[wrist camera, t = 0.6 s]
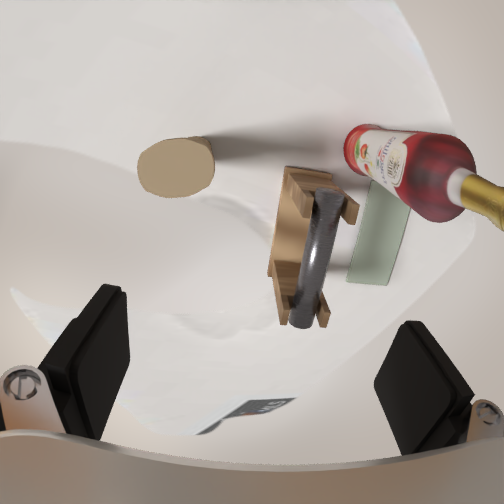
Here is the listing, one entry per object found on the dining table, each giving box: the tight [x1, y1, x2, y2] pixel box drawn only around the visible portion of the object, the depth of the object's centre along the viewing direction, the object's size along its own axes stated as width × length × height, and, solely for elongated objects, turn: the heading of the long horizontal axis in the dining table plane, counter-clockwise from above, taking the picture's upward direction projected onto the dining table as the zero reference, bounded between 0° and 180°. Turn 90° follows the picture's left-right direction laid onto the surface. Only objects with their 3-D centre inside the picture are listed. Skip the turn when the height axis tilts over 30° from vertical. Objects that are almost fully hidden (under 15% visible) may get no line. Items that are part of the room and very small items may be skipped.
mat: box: [346, 180, 410, 286], centre depth 44 cm, size 16×7×1 cm, turn 172°
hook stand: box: [267, 166, 360, 328], centre depth 37 cm, size 15×6×13 cm, turn 173°
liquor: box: [344, 124, 504, 231], centre depth 26 cm, size 7×7×28 cm
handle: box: [137, 136, 215, 198], centre depth 32 cm, size 5×6×15 cm
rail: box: [288, 187, 345, 329], centre depth 33 cm, size 15×3×3 cm, turn 173°
